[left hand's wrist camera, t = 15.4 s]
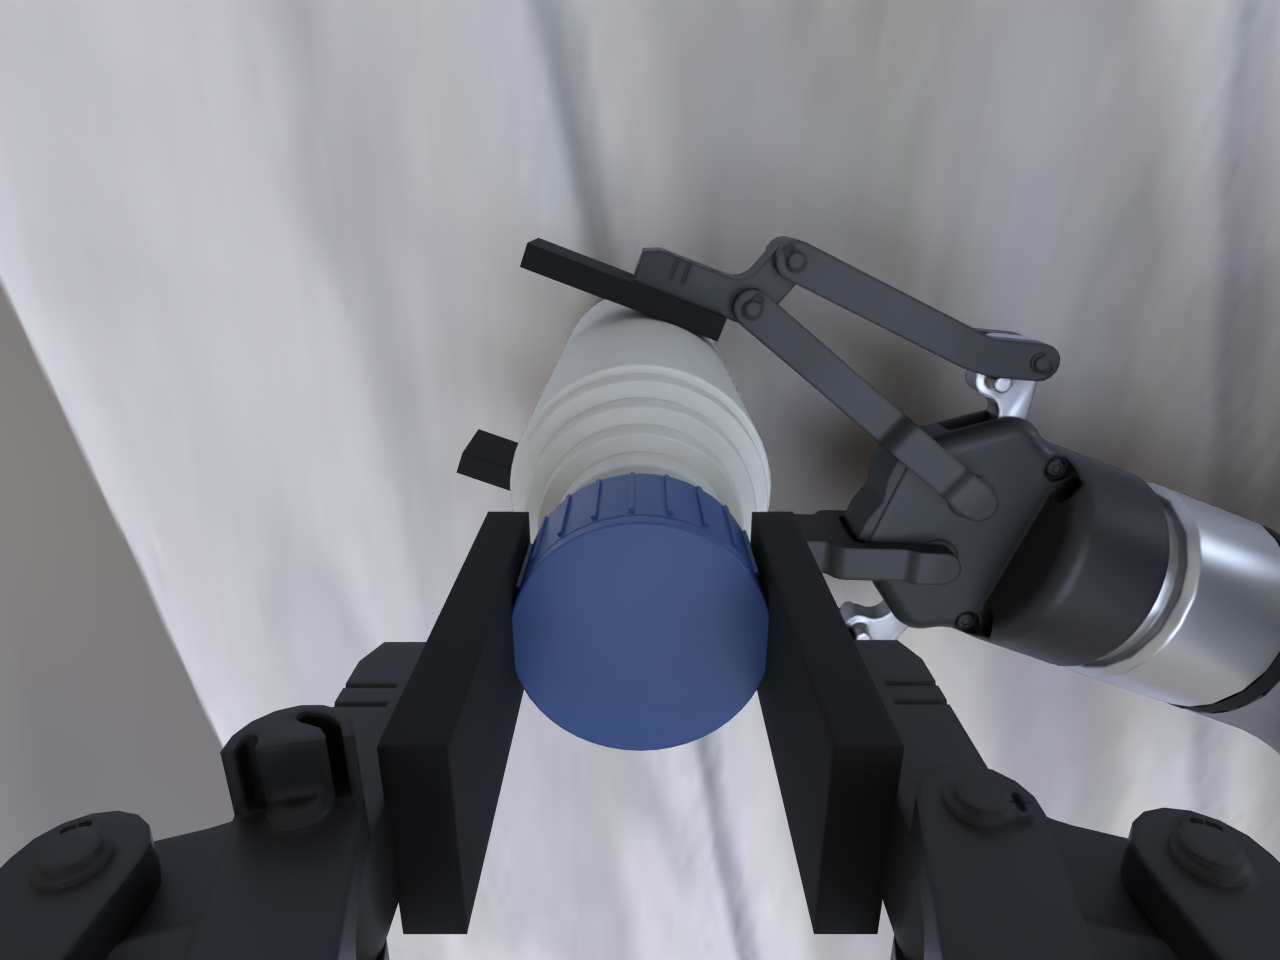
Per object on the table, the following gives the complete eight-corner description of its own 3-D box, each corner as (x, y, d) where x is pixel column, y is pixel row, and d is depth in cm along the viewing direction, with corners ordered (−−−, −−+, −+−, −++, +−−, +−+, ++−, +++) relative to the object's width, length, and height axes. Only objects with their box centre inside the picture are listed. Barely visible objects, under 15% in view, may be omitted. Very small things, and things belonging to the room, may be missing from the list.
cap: (803, 578, 15) (831, 643, 13) (639, 714, 16) (638, 796, 14) (642, 420, 14) (642, 463, 12) (476, 577, 15) (448, 643, 13)
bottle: (604, 461, 34) (557, 824, 15) (538, 329, 32) (379, 543, 13) (739, 402, 33) (881, 705, 14) (679, 263, 31) (744, 381, 12)
